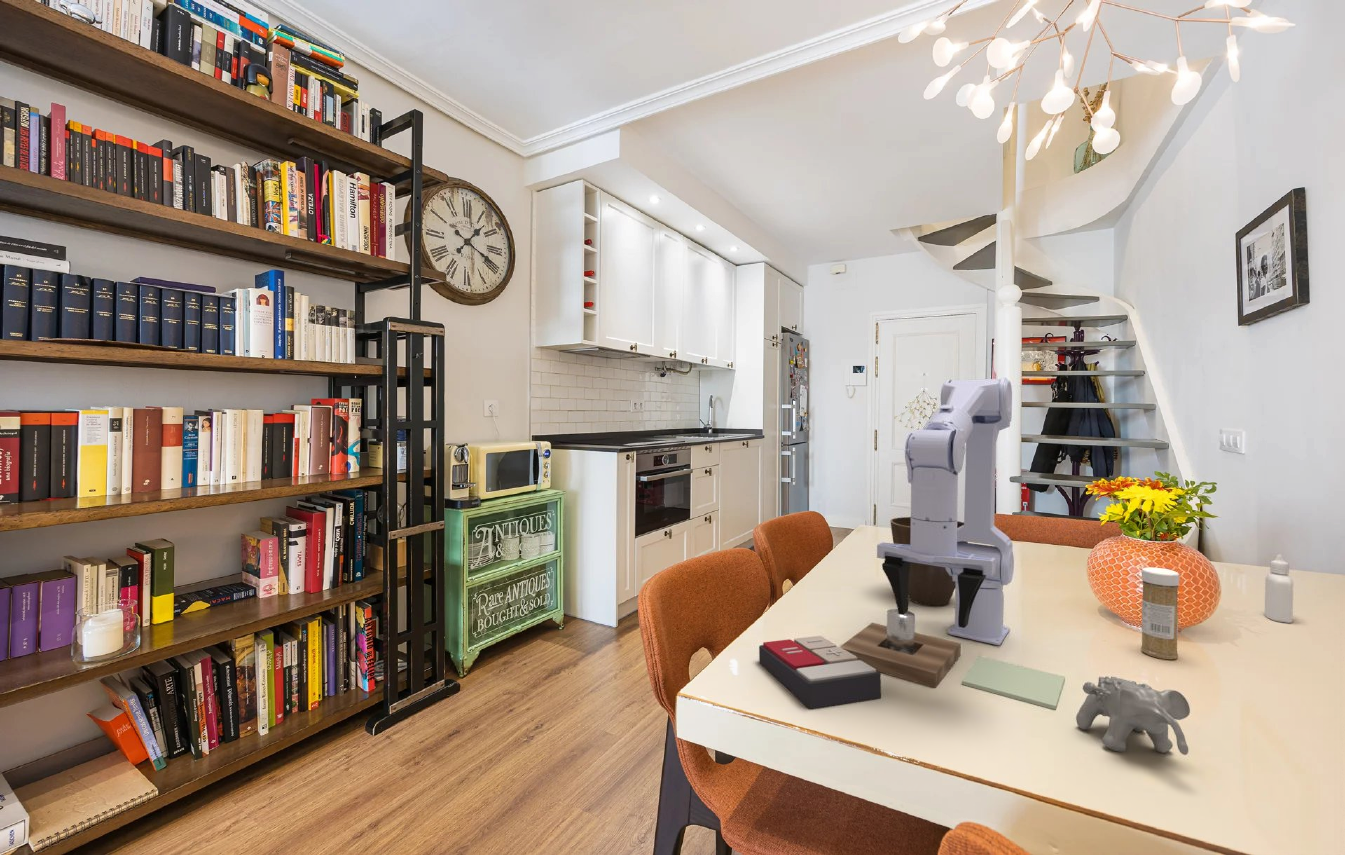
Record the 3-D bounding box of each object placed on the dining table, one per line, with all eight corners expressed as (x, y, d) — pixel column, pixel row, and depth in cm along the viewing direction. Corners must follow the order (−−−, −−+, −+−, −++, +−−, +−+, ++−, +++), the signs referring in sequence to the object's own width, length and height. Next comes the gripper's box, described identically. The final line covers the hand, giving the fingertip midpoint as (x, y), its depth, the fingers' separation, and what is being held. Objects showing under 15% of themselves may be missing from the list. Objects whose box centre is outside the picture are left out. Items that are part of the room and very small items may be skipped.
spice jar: (1182, 656, 90) (1183, 571, 90) (1171, 663, 88) (1173, 575, 88) (1146, 646, 94) (1147, 565, 94) (1135, 652, 92) (1137, 568, 92)
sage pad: (979, 659, 89) (979, 655, 89) (1064, 680, 82) (1064, 676, 82) (961, 684, 80) (961, 680, 80) (1055, 710, 73) (1055, 706, 73)
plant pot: (874, 592, 123) (875, 518, 122) (931, 587, 127) (932, 515, 127) (924, 616, 108) (925, 531, 108) (986, 608, 113) (988, 527, 113)
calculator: (821, 632, 91) (882, 667, 76) (821, 660, 91) (882, 700, 76) (757, 640, 88) (808, 677, 73) (758, 668, 87) (809, 711, 73)
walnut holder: (872, 634, 99) (872, 622, 99) (960, 655, 90) (960, 643, 90) (838, 660, 88) (838, 647, 88) (935, 687, 79) (935, 673, 79)
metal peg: (891, 650, 92) (892, 607, 92) (917, 657, 89) (918, 612, 89) (882, 658, 89) (883, 613, 89) (909, 666, 86) (910, 619, 86)
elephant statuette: (1119, 721, 71) (1116, 659, 72) (1237, 773, 60) (1232, 698, 60) (1061, 733, 69) (1059, 668, 69) (1173, 790, 57) (1169, 712, 58)
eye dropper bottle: (1300, 619, 107) (1302, 556, 107) (1289, 624, 105) (1290, 559, 105) (1268, 612, 111) (1269, 551, 111) (1256, 617, 109) (1257, 554, 109)
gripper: (869, 516, 79) (868, 614, 79) (987, 529, 70) (986, 640, 70) (887, 510, 84) (886, 602, 85) (999, 521, 75) (997, 625, 75)
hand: (932, 618), depth 78 cm, fingers open, 7 cm apart
